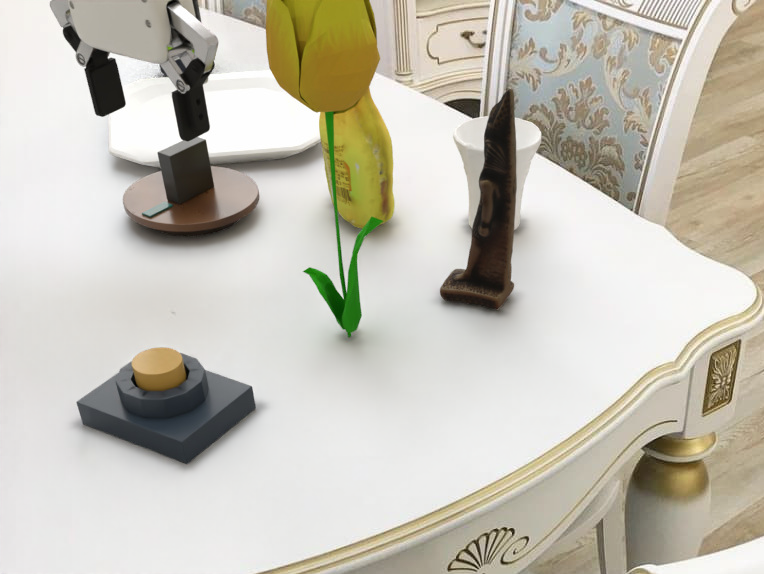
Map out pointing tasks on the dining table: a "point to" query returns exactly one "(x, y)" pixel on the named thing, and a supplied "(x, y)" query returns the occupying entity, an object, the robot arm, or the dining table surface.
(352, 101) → the flower
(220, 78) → the plate
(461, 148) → the cup
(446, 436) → the dining table surface
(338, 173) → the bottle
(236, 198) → the turntable
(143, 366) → the bell button
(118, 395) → the grey button base
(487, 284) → the statue
